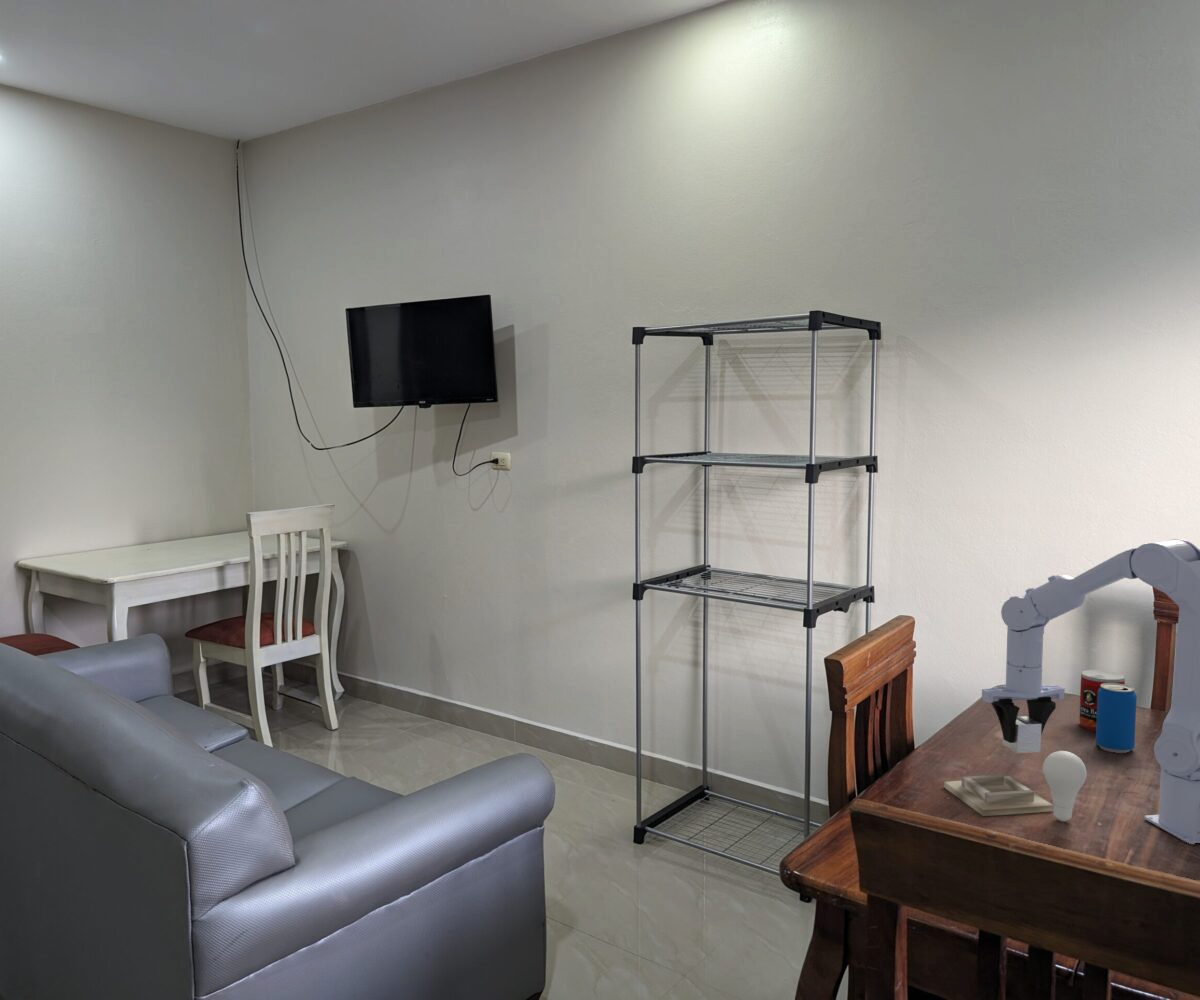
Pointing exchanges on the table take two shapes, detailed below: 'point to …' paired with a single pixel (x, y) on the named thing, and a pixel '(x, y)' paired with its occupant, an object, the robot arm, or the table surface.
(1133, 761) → the table surface
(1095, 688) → the canned food
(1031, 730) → the block
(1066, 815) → the lightbulb
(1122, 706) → the beverage can
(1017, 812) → the beige square tray
